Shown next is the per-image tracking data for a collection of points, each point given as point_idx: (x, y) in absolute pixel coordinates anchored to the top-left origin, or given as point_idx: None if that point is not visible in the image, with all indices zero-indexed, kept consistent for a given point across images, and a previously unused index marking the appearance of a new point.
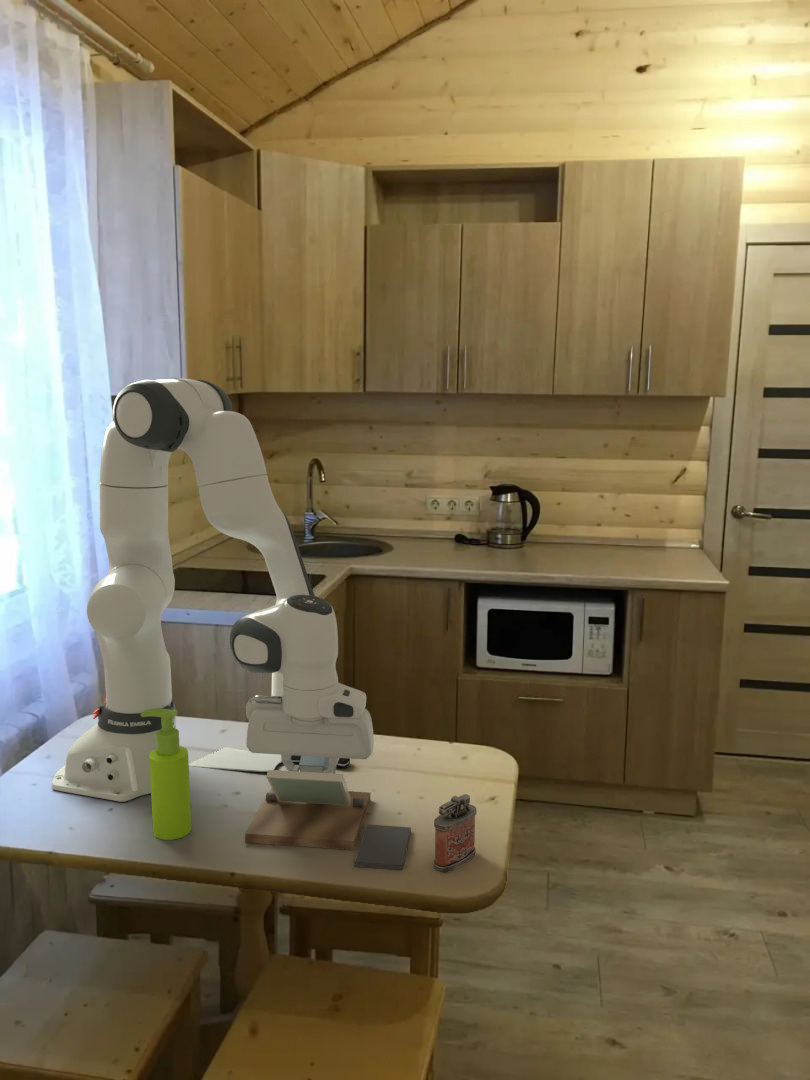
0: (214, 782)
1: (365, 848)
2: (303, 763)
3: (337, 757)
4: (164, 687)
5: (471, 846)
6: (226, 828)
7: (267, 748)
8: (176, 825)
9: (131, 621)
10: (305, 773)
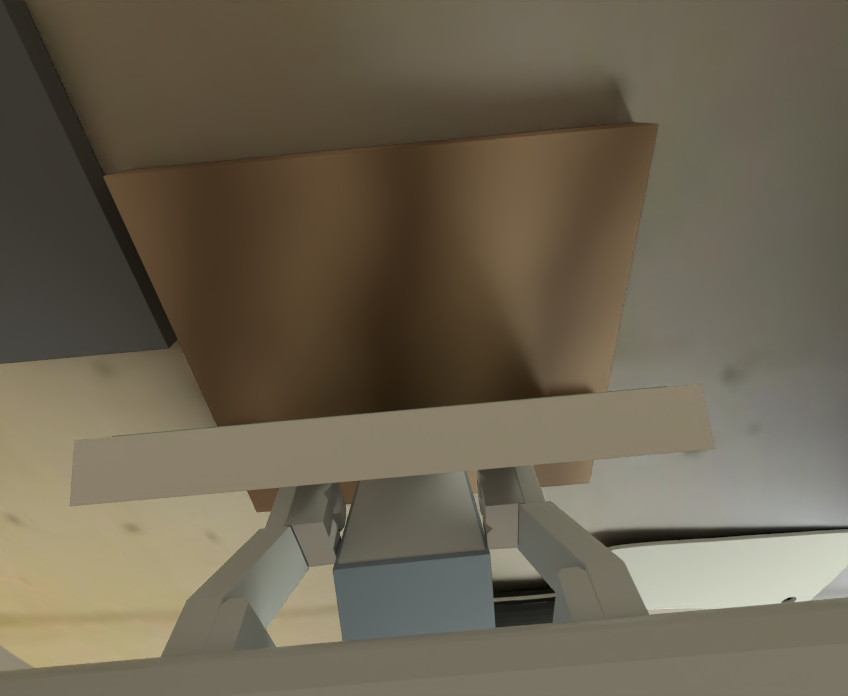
0: (768, 481)
1: (44, 155)
2: (464, 569)
3: (127, 663)
4: None
5: None
6: (725, 225)
7: (845, 669)
8: None
9: None
10: (384, 463)
